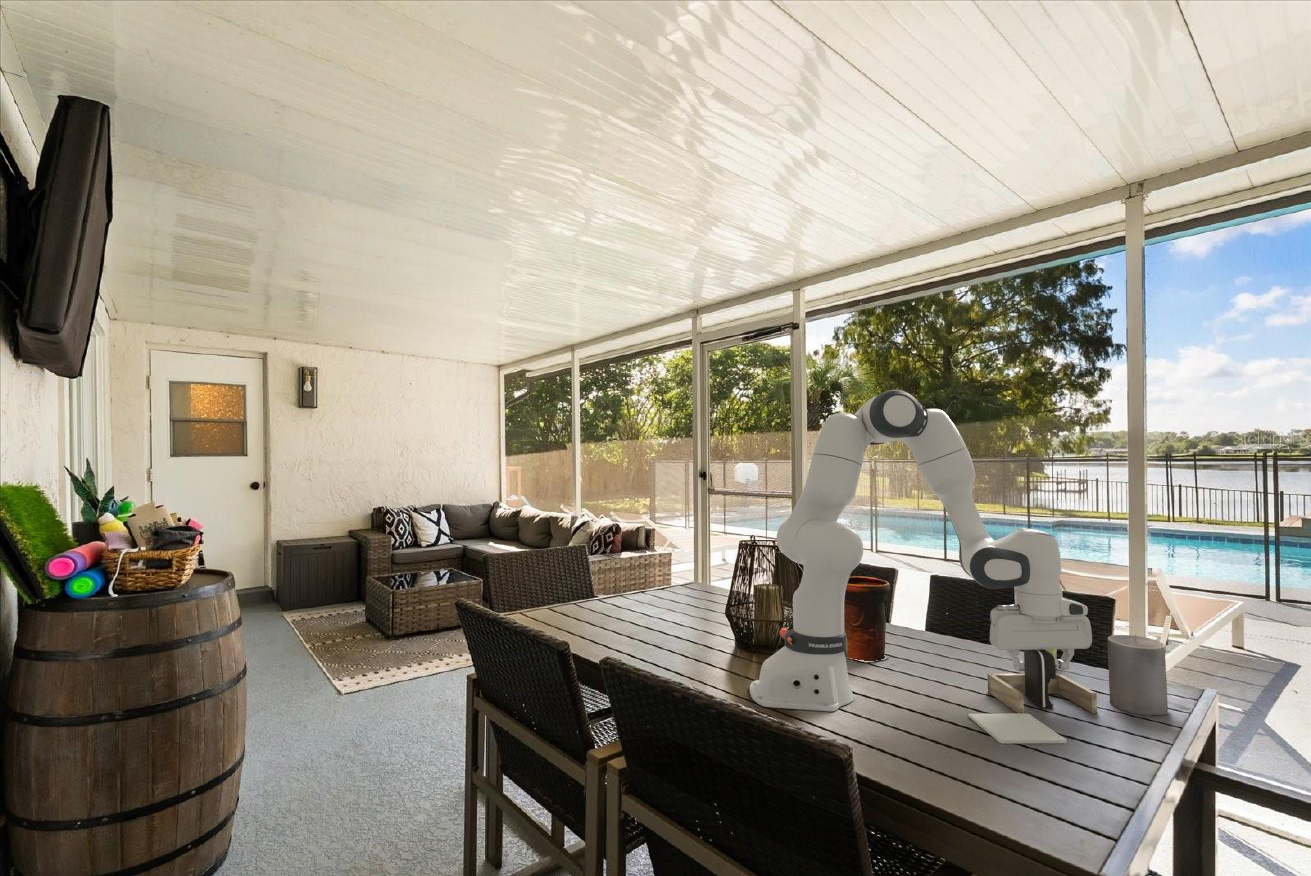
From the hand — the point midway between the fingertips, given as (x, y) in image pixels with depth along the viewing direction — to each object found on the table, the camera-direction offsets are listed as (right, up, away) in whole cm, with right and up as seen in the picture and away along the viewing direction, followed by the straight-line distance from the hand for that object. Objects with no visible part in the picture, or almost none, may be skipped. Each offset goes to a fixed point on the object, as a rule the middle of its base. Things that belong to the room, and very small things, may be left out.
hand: (1041, 669), depth 133 cm
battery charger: (0, -7, -1) cm, 7 cm away
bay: (0, -7, -1) cm, 7 cm away
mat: (-13, -7, -13) cm, 20 cm away
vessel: (-27, -9, +34) cm, 44 cm away
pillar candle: (+18, -7, -3) cm, 20 cm away
